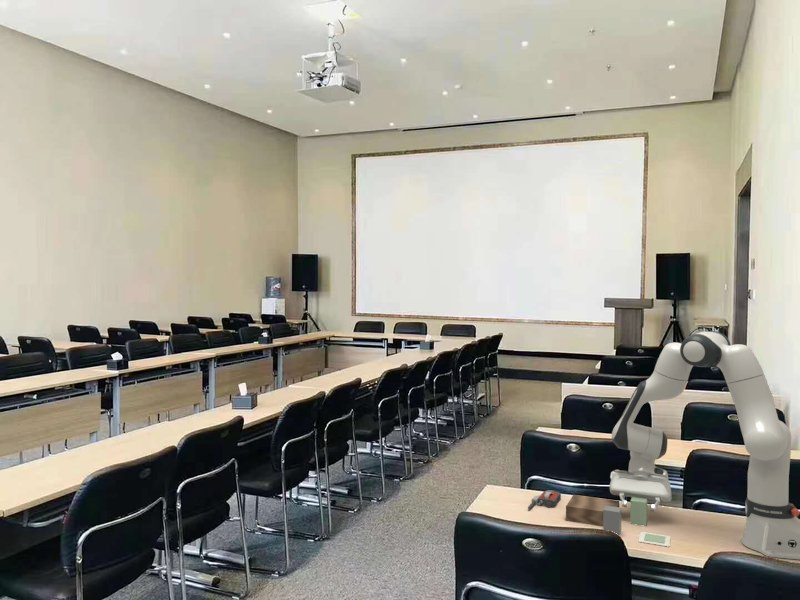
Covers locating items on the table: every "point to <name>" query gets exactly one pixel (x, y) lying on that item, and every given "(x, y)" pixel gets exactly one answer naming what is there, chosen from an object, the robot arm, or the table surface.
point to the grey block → (612, 519)
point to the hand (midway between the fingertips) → (638, 508)
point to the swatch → (654, 539)
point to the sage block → (638, 511)
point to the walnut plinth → (587, 509)
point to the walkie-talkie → (546, 499)
